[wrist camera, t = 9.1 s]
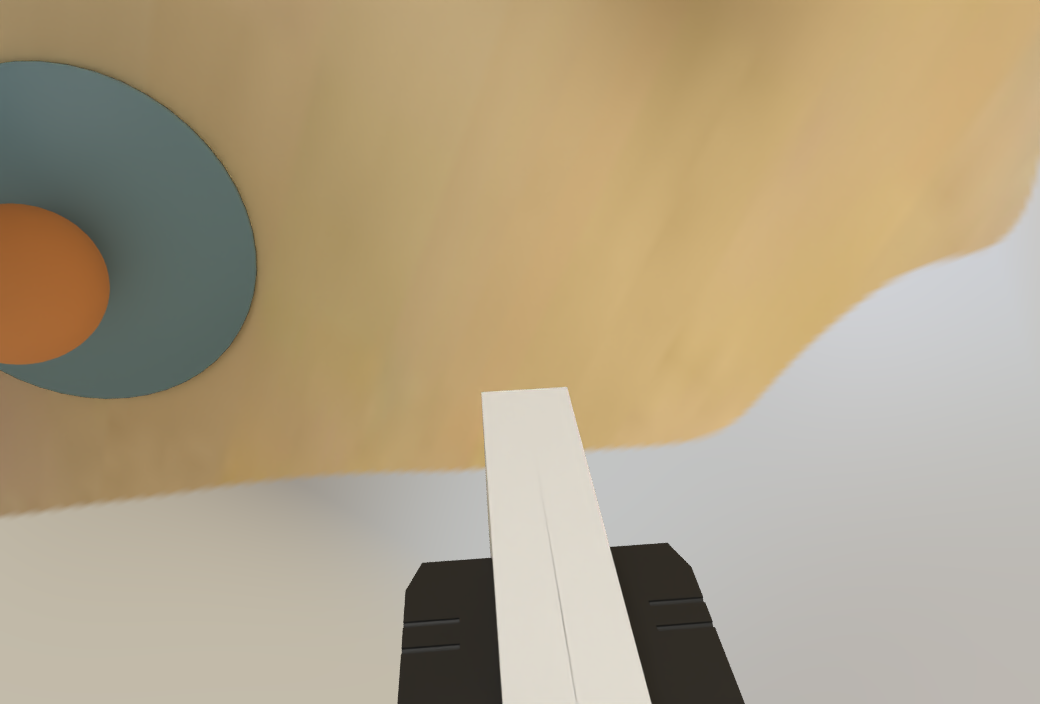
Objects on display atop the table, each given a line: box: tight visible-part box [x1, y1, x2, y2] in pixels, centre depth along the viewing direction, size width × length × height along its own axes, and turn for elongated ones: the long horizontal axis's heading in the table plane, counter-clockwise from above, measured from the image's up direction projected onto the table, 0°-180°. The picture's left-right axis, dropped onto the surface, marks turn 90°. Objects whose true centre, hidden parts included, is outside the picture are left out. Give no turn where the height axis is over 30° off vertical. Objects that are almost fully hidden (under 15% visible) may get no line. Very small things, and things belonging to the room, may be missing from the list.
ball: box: [0, 203, 110, 365], centre depth 27 cm, size 6×6×6 cm
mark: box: [0, 61, 257, 399], centre depth 29 cm, size 13×13×1 cm
